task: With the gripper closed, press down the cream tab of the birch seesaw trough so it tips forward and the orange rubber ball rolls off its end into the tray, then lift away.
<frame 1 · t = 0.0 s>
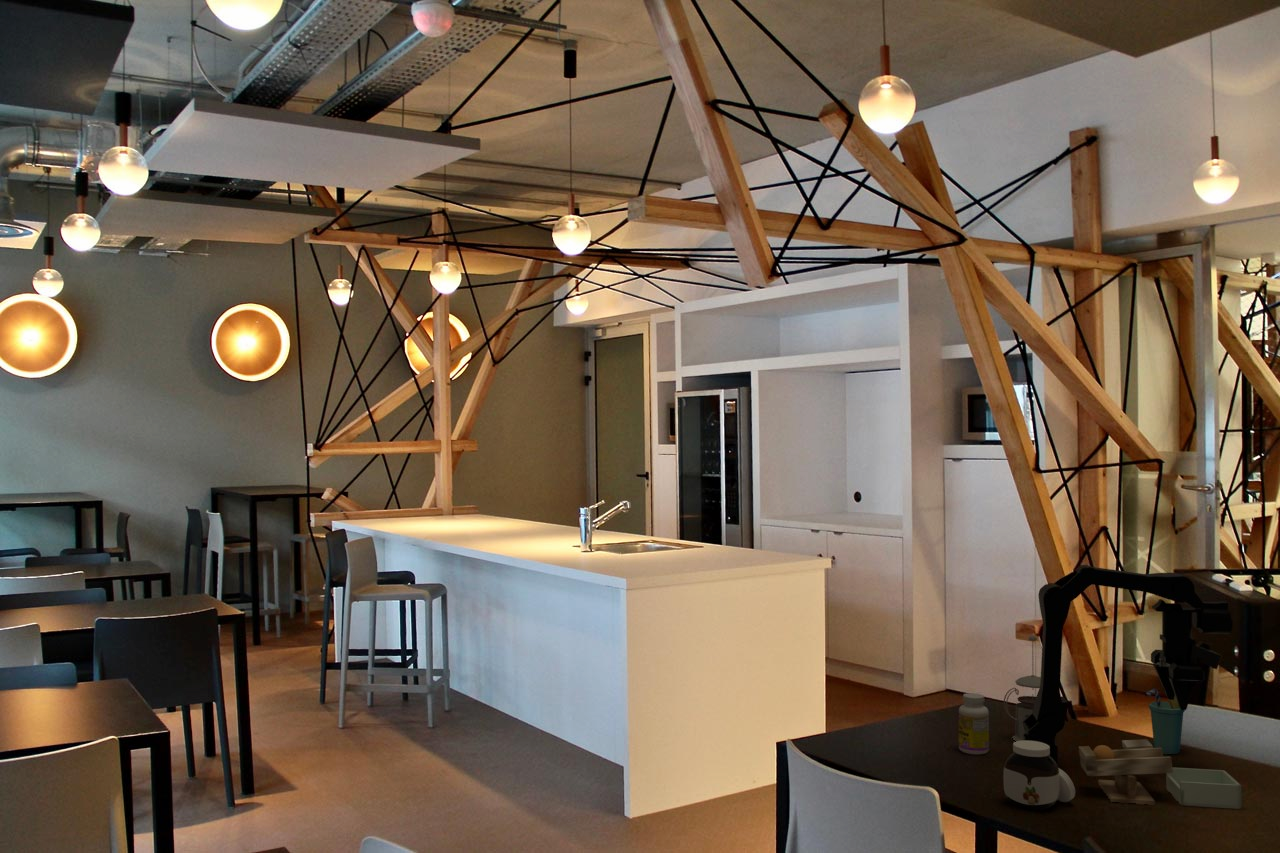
hand: (1177, 704, 234), 15 cm above the table, tool pointing down, fingers open, 9 cm apart
supplement bottle: (973, 752, 250), on the table
spread jar: (1039, 804, 215), on the table
tray: (1202, 798, 218), on the table
french press: (1029, 741, 259), on the table
cup: (1164, 753, 250), on the table
lever: (1118, 752, 225), point 7 cm above the table, hinge at -6.0°, touching ball
ball: (1103, 755, 221), point 8 cm above the table, tilted 19°, touching lever
stand: (1125, 793, 220), on the table
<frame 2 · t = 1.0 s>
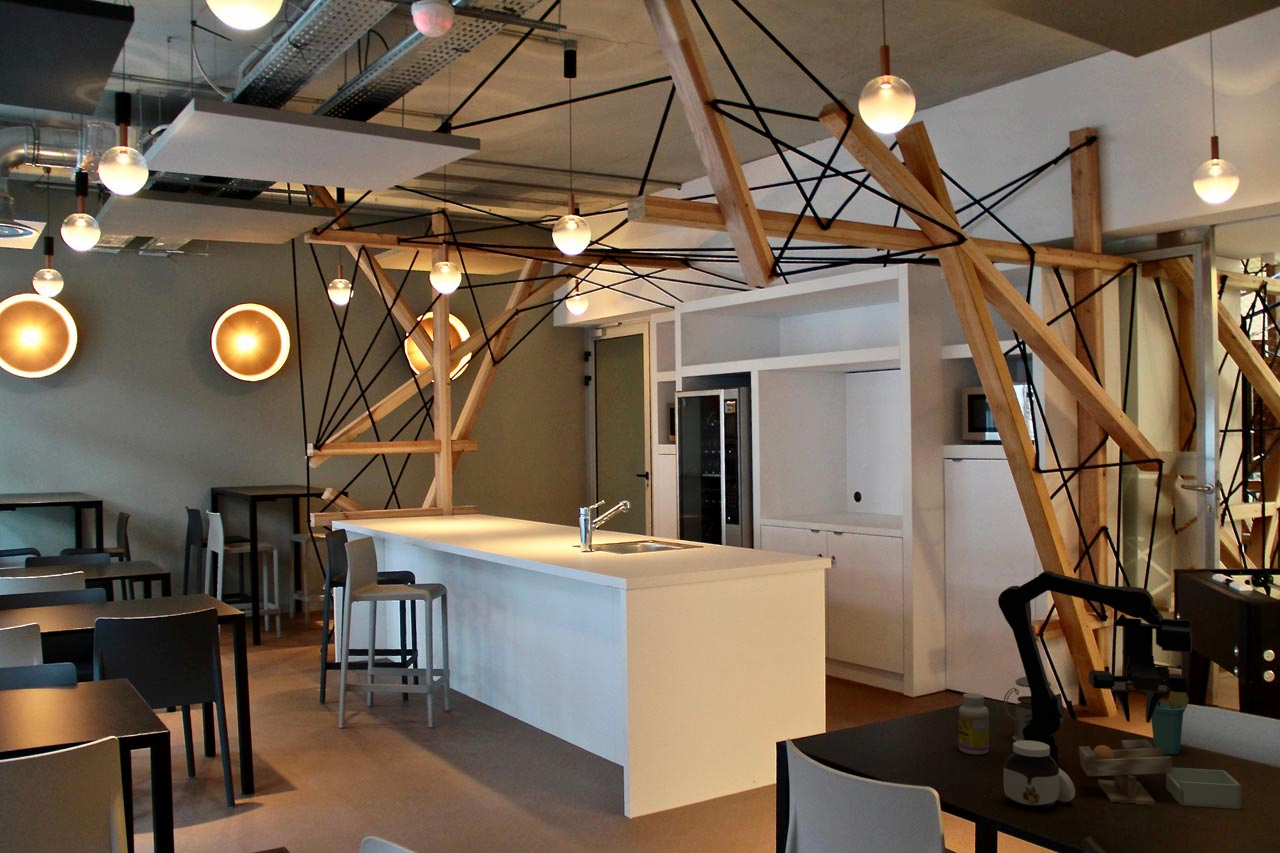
hand: (1137, 721, 230), 12 cm above the table, tool pointing down, fingers open, 4 cm apart
nothing on the table moved.
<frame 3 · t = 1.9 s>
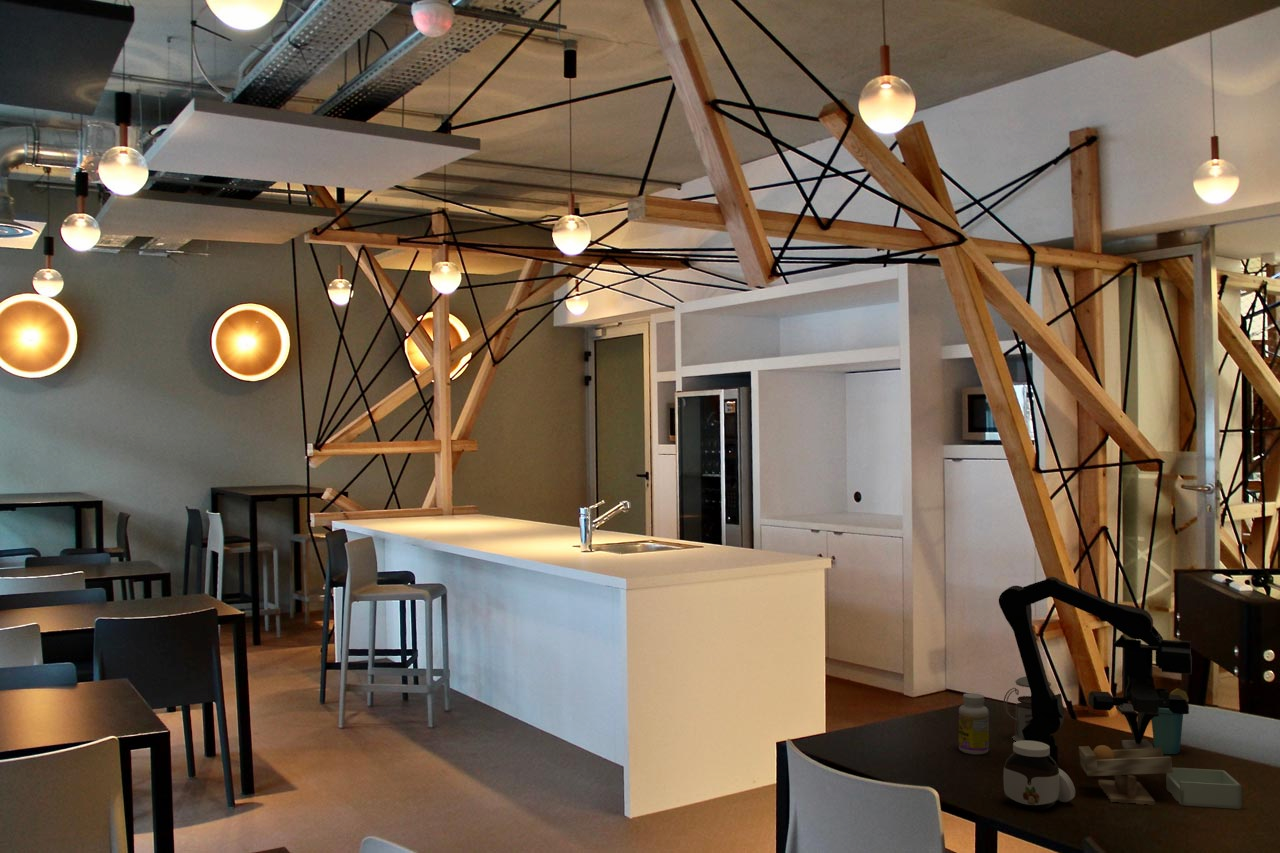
hand: (1137, 743, 230), 8 cm above the table, tool pointing down, fingers closed, pressing on lever
lever: (1118, 752, 225), point 7 cm above the table, hinge at -6.0°, touching gripper
ball: (1103, 755, 221), point 8 cm above the table, tilted 19°
everything else where it was.
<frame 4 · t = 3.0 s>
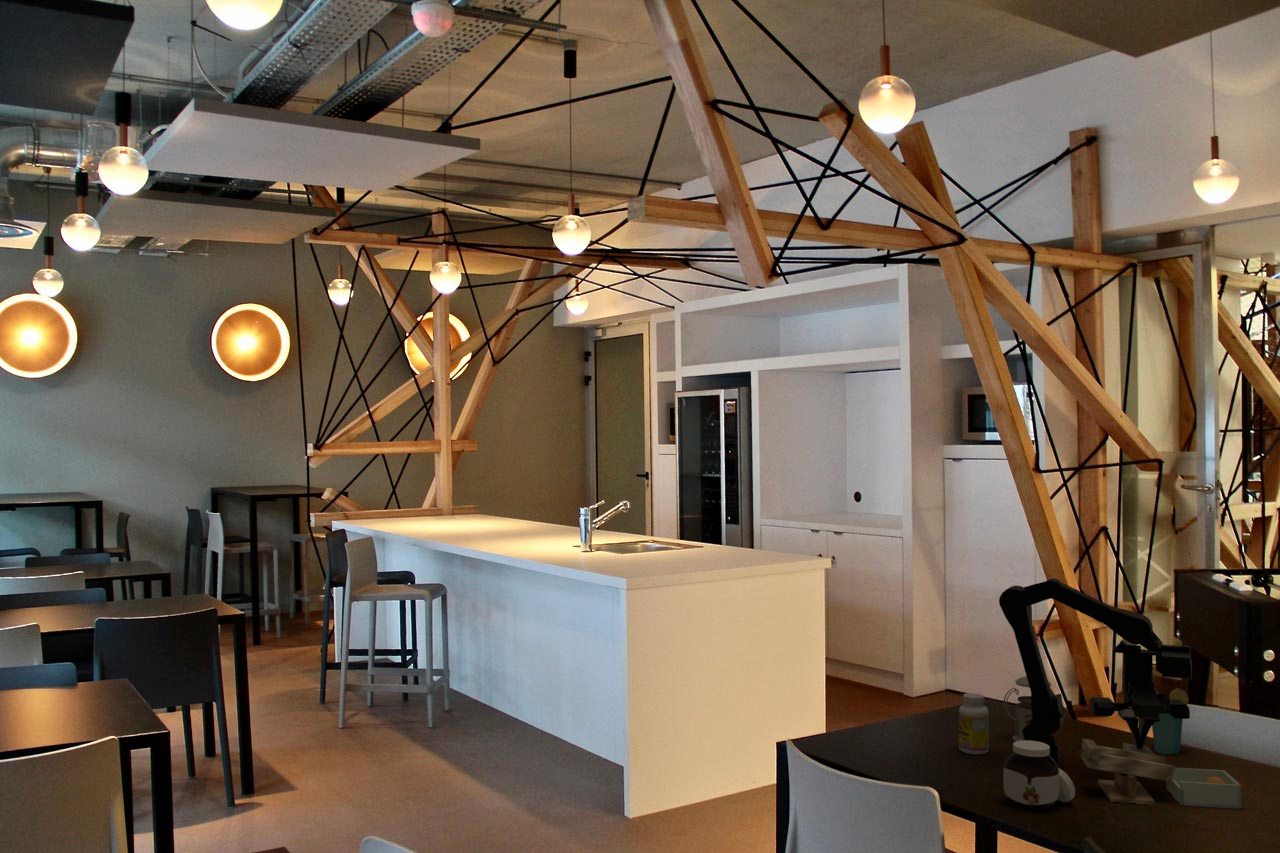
hand: (1139, 748, 230), 6 cm above the table, tool pointing down, fingers closed, pressing on lever
lever: (1120, 752, 225), point 7 cm above the table, hinge at 6.5°, touching gripper
ball: (1215, 786, 217), point 2 cm above the table, tilted 132°, touching tray
everything else where it was.
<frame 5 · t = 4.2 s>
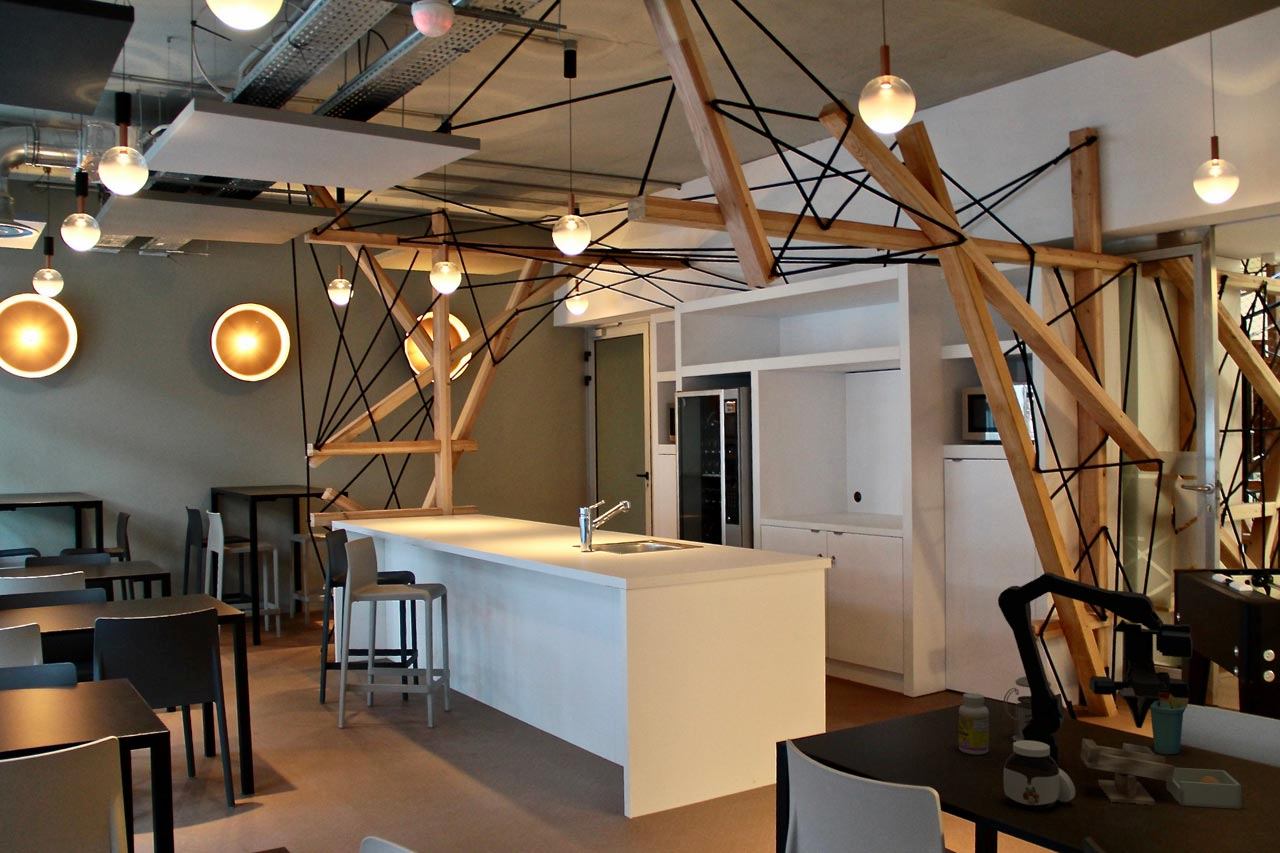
hand: (1138, 727, 230), 11 cm above the table, tool pointing down, fingers closed
lever: (1120, 752, 225), point 7 cm above the table, hinge at 6.5°
ball: (1209, 786, 217), point 2 cm above the table, tilted 138°, touching tray
everything else where it was.
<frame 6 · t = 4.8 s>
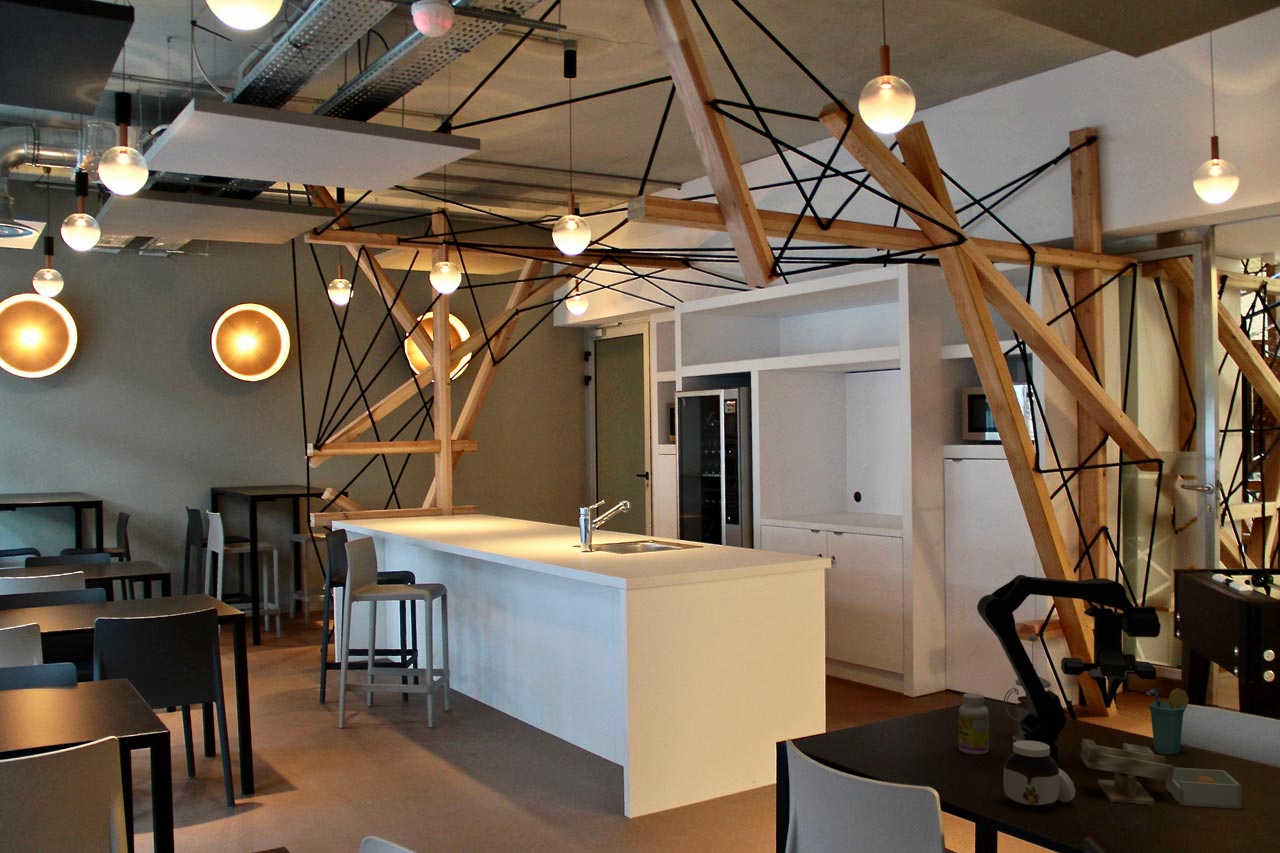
hand: (1107, 707, 239), 13 cm above the table, tool pointing down, fingers closed
ball: (1206, 786, 217), point 2 cm above the table, tilted 159°, touching tray
everything else where it was.
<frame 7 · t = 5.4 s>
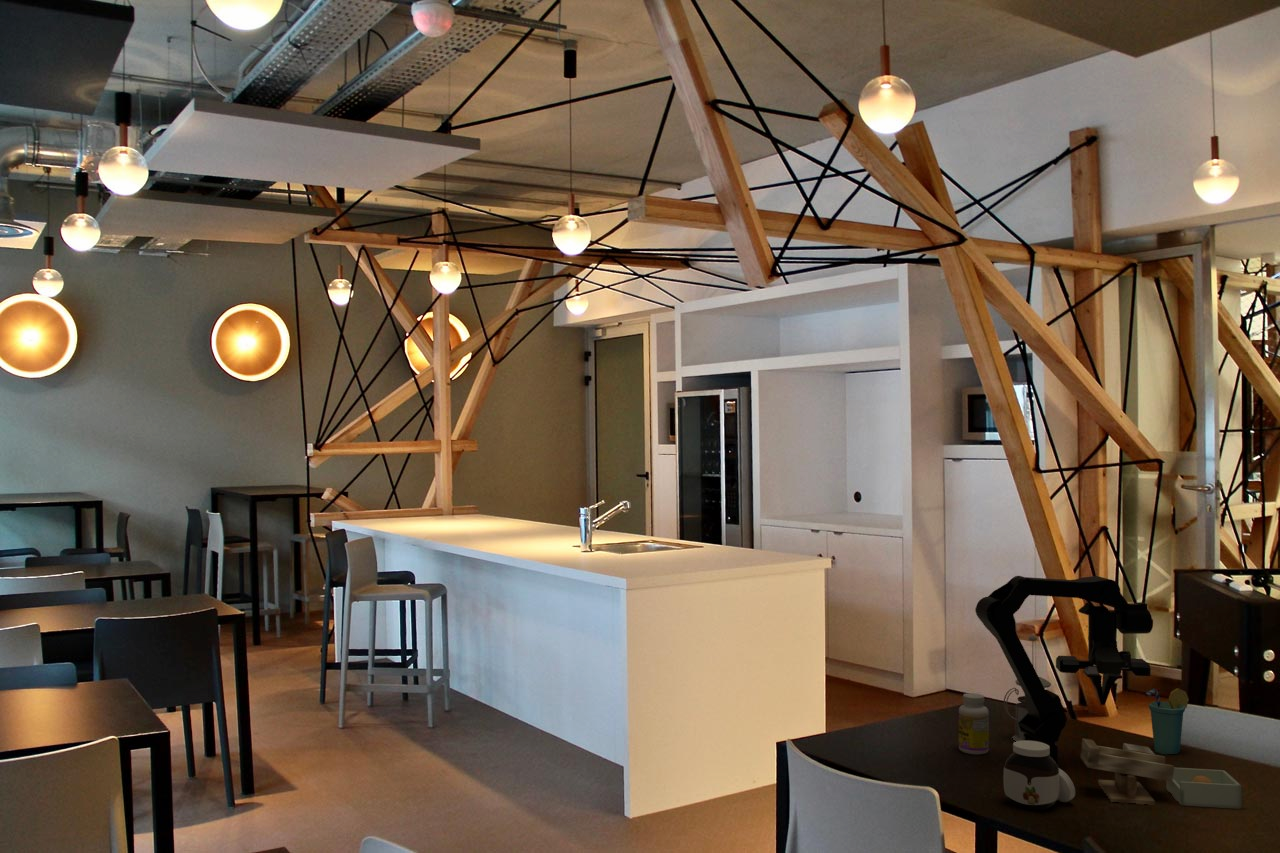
hand: (1102, 704, 241), 13 cm above the table, tool pointing down, fingers closed
ball: (1202, 786, 218), point 2 cm above the table, tilted 180°, touching tray
everything else where it was.
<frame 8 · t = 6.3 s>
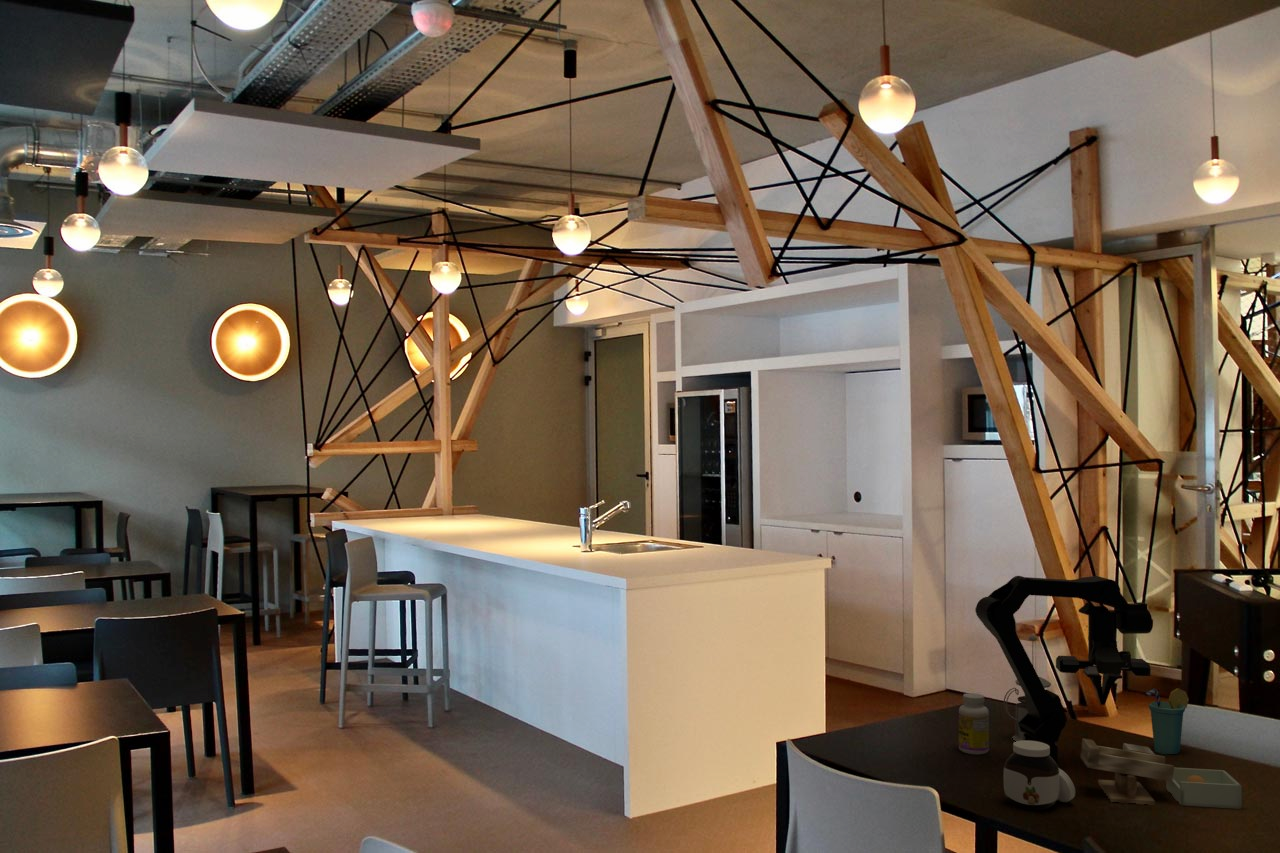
hand: (1102, 704, 241), 13 cm above the table, tool pointing down, fingers closed
ball: (1196, 785, 218), point 2 cm above the table, tilted 149°, touching tray
everything else where it was.
at the end: ball inside the target area on the tray (1.2 cm from its centre), point 2.5 cm above the tray's base; ball point 2.5 cm above the table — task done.
